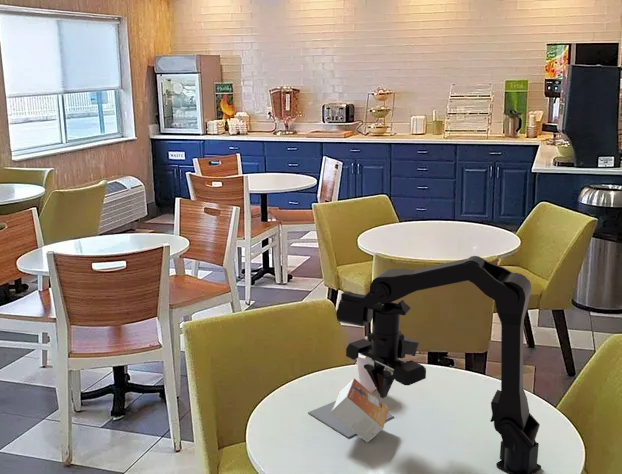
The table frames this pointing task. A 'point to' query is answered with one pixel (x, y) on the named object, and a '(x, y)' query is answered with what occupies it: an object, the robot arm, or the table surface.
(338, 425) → the mat
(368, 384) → the smoothie
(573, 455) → the table surface
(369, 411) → the small box
